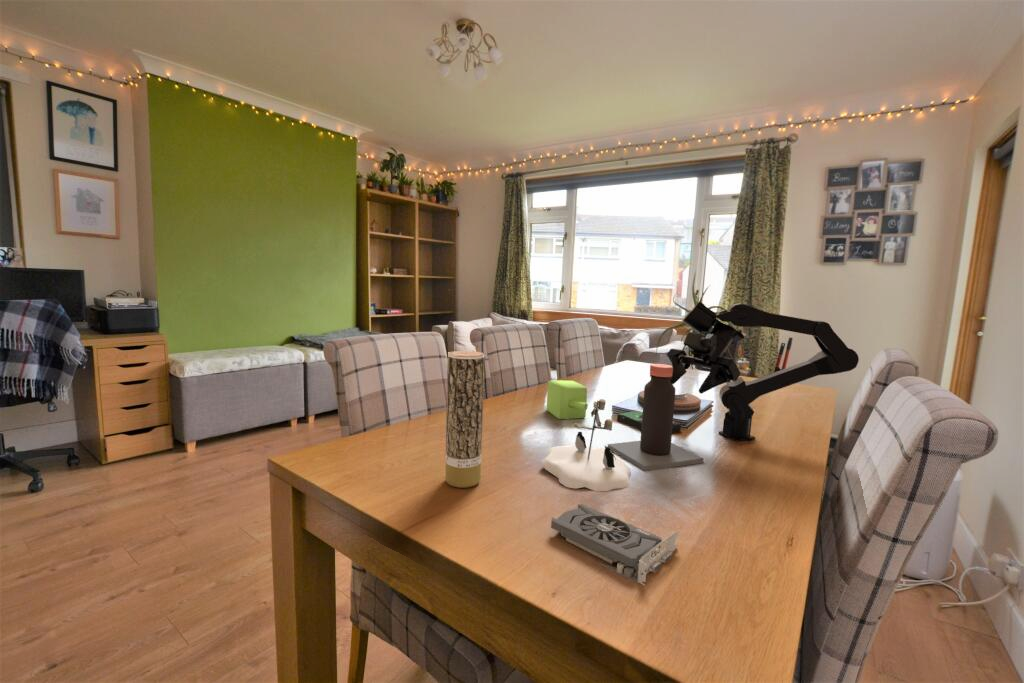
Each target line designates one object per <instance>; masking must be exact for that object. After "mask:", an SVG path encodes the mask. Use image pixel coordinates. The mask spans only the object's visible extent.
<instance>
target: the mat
mask: <svg viewBox="0 0 1024 683" xmlns="http://www.w3.org/2000/svg"><path fill="white" fill-rule="evenodd" d="M640 441H641V440H635V441H625V442H615V443H608V444H607V447H609V448H610V451H611V452H612V453H615V455H617V456H619V457H621V458H623V459H624V460H626V461H628V462H630V463H631V464H633V465H635V466H636V467H638V468H639V469H641V470H642V471H644V472H646V471H653V470H658V469H659V470H660V469H666V468H673V467H674V468H675V467H681V466H688V465H695V464H701V463H704V457H702V456H700V455H698V454H696V453H694V452H693V451H692V452H691V451H690V450H688V449H685V448H683V447H681V446H679V445H677V444H676V443H673V442H671V450H670V453H669V454H667V455H662V456H661V455H652V454H648V453H645V452H643V451H642V450H641V449H640Z"/></svg>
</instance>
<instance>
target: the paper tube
mask: <svg viewBox="0 0 1024 683" xmlns="http://www.w3.org/2000/svg"><path fill="white" fill-rule="evenodd" d="M447 354H448V355H447V372H446V373H447V377H446V415H445V416H446V421H445V422H446V426H445V474H444V475H445V477H444V479H445V482H446V484H448V485H449V486H451V487H454V488H459V489H460V488H462V489H465V488H466V489H467V488H473V487H474V486H476V485H478V484H479V482H480V481H481V477H482V451H483V450H482V449H483V448H482V447H483V446H482V444H483V418H484V414H483V411H484V409H483V408H484V384H485V383H484V381H485V380H484V379H485V353H484V352H481V351H474V350H455V351H454V350H453V351H449V352H447Z"/></svg>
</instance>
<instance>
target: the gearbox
mask: <svg viewBox="0 0 1024 683" xmlns="http://www.w3.org/2000/svg"><path fill="white" fill-rule="evenodd" d="M546 393H547V394H546V410H547V411H548V412H549V413H551V415H553V416H554V417H555V418H557V419H559V420H570V419H571V420H573V419H581V418H586V416H587V415H586V414H587V413H586V412H587V409H588V407H589V406H588V404H589V403H587V399H588V388H587V387H586V386H584V385H583V384H581V383H579V382H576V381H575V380H559V379H558V380H548V381H547V392H546Z"/></svg>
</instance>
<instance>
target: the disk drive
mask: <svg viewBox="0 0 1024 683" xmlns="http://www.w3.org/2000/svg"><path fill="white" fill-rule="evenodd" d="M642 414H643V412H638V411H637V410H630V411H627V412H618V414H617V415H616V416H617V418H616V420H617V421H619V422H620V423H623V424H625V425H628V426H630V427H632V428H635V429H636V430H639V431H641V428H642ZM681 429H682V423H681V422H678V421H675V420H673V426H672V434H673V433H679V432H681V431H682V430H681Z"/></svg>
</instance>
